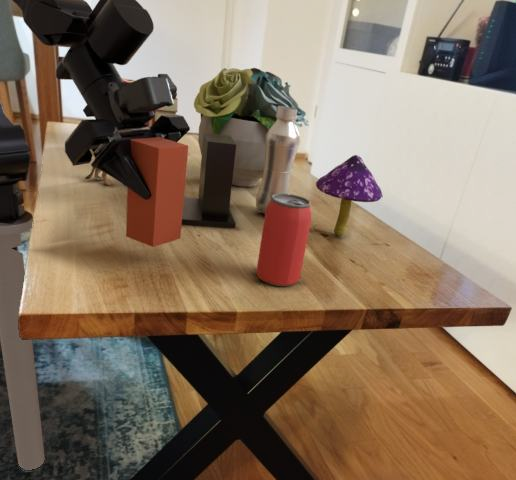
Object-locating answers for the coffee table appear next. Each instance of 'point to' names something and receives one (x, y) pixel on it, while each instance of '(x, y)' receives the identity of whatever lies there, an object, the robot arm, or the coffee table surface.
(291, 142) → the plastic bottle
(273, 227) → the beer can
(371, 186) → the decorative mushroom
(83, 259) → the coffee table surface
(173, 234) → the tall terracotta column
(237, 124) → the flower arrangement
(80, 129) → the robot arm
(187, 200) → the seat plate
